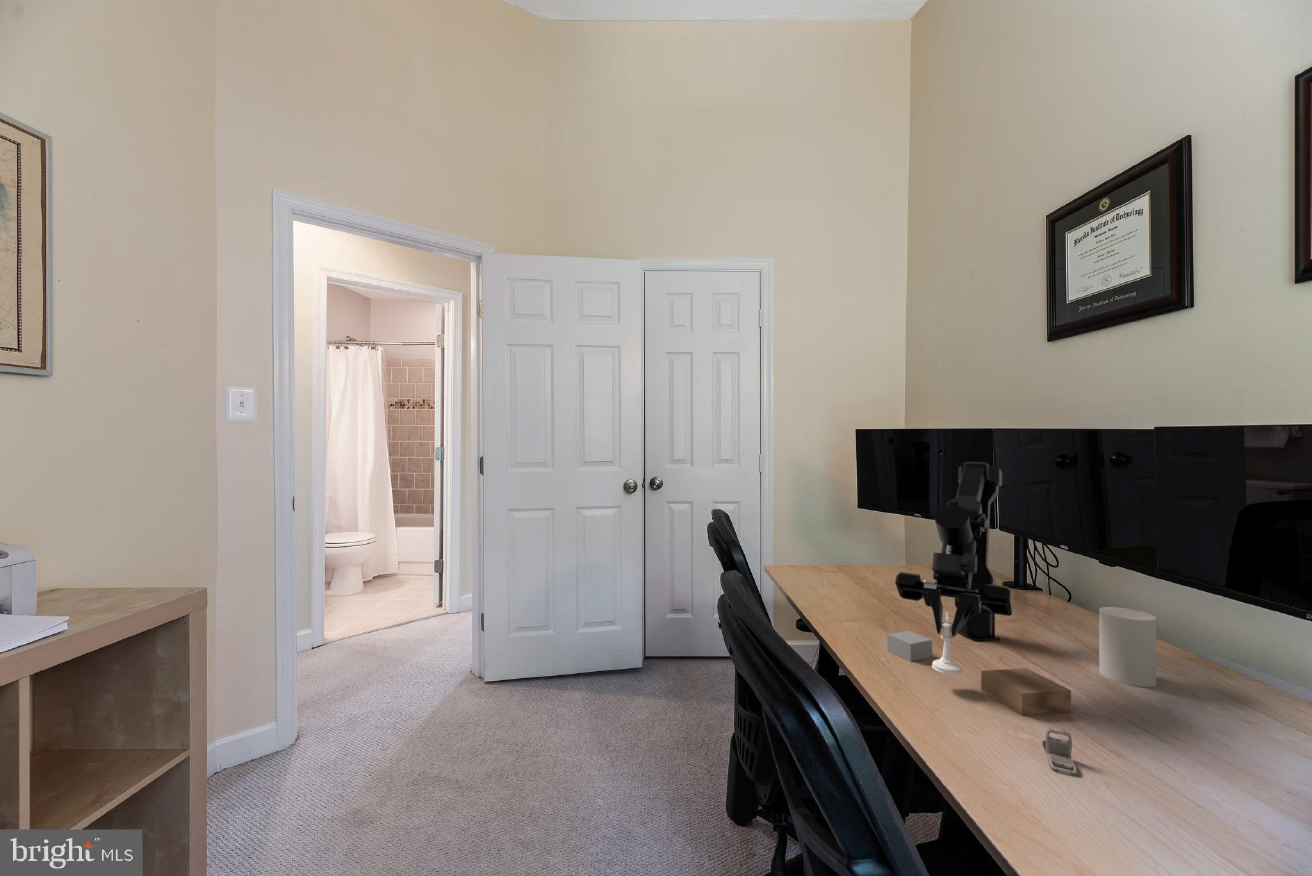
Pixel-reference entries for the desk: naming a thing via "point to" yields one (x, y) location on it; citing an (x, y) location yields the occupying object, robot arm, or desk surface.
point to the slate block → (909, 645)
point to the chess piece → (947, 652)
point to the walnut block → (1026, 691)
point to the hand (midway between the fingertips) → (945, 634)
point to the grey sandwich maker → (1059, 753)
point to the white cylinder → (1127, 646)
